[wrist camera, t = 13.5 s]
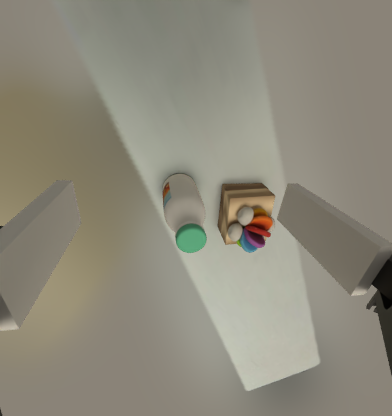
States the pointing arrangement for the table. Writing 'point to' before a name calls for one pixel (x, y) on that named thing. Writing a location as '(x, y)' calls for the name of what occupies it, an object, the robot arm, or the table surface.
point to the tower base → (235, 187)
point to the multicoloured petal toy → (251, 228)
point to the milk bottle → (184, 212)
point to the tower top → (239, 200)
